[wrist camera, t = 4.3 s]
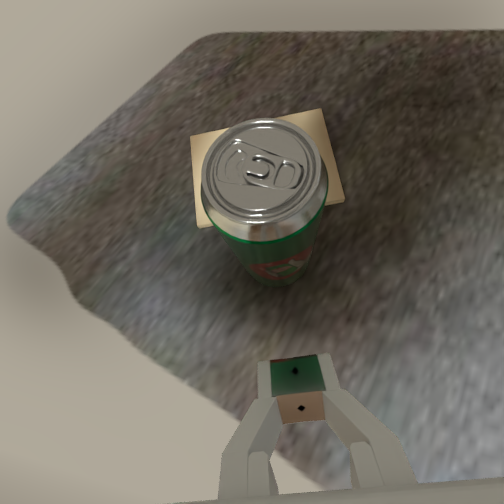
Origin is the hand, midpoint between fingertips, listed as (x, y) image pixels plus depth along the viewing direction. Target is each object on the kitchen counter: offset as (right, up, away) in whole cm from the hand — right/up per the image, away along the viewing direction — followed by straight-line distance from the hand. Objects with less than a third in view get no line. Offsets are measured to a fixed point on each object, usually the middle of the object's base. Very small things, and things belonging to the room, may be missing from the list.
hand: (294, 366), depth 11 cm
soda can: (0, +4, +10) cm, 11 cm away
